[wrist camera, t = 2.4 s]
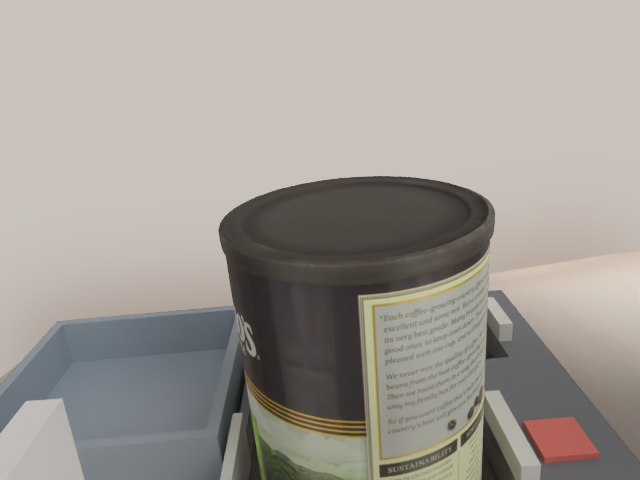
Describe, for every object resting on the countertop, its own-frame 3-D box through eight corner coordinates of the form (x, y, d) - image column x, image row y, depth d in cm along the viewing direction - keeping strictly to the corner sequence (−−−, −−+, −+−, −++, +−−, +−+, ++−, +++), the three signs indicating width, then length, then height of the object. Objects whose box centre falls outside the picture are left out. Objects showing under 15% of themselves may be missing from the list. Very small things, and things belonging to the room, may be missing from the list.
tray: (253, 349, 38) (246, 304, 37) (228, 496, 25) (217, 436, 24) (70, 365, 38) (57, 321, 37) (-44, 520, 26) (-69, 461, 24)
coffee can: (246, 600, 21) (183, 270, 16) (277, 422, 30) (245, 183, 25) (515, 597, 20) (537, 249, 15) (460, 416, 30) (462, 168, 25)
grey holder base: (500, 314, 40) (501, 275, 38) (713, 607, 19) (729, 541, 18) (260, 335, 40) (255, 296, 39) (213, 649, 19) (198, 587, 18)
